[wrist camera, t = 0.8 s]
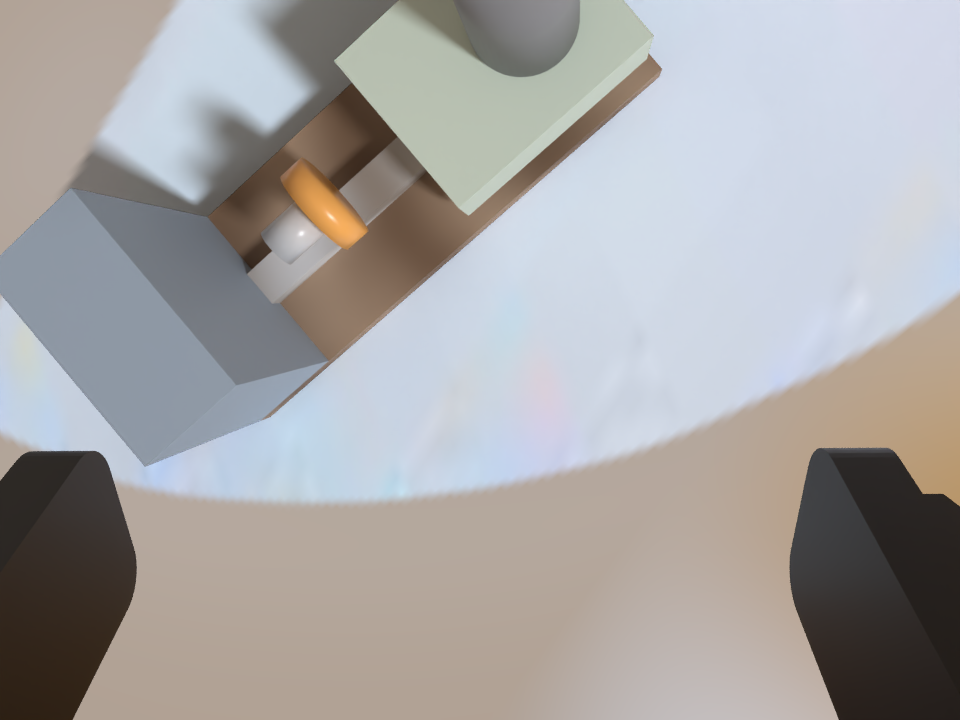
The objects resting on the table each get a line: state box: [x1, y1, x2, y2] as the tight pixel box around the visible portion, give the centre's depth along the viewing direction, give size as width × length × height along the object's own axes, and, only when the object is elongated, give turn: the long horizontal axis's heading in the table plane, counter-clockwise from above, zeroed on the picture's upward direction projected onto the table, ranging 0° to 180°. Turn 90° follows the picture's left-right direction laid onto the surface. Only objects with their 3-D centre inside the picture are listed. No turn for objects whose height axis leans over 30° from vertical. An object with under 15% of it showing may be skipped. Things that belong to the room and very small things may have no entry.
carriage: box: [334, 0, 654, 216], centre depth 27 cm, size 9×7×13 cm
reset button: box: [261, 158, 368, 264], centre depth 32 cm, size 3×4×4 cm
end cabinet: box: [0, 188, 328, 467], centre depth 32 cm, size 4×8×10 cm, turn 41°
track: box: [208, 53, 662, 420], centre depth 36 cm, size 22×8×2 cm, turn 131°
